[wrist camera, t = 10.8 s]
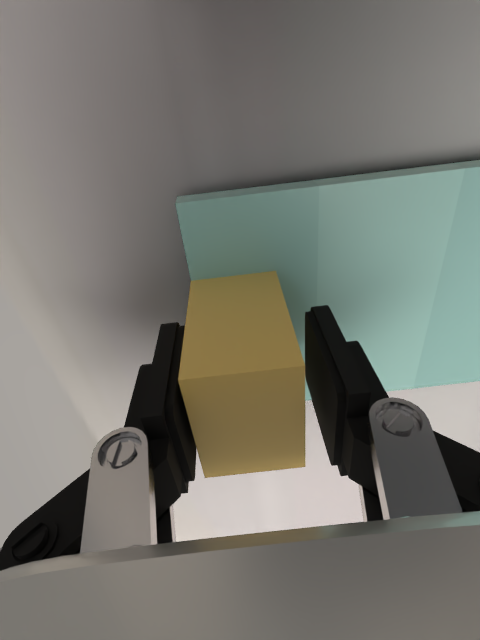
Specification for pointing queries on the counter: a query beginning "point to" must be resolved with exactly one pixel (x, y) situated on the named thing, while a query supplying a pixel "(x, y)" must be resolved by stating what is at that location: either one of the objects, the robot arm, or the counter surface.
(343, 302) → the lid
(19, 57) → the counter surface
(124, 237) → the counter surface
